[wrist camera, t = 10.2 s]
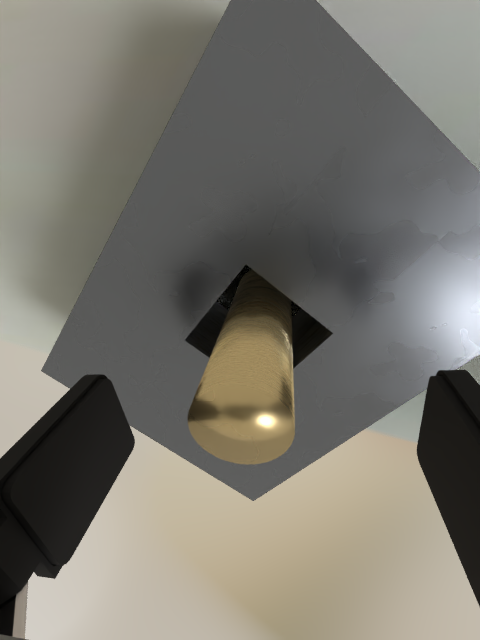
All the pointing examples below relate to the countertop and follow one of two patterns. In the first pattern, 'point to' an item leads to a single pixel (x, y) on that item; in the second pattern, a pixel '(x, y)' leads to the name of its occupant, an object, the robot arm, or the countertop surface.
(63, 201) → the countertop surface
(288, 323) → the brass pin
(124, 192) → the countertop surface
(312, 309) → the block
